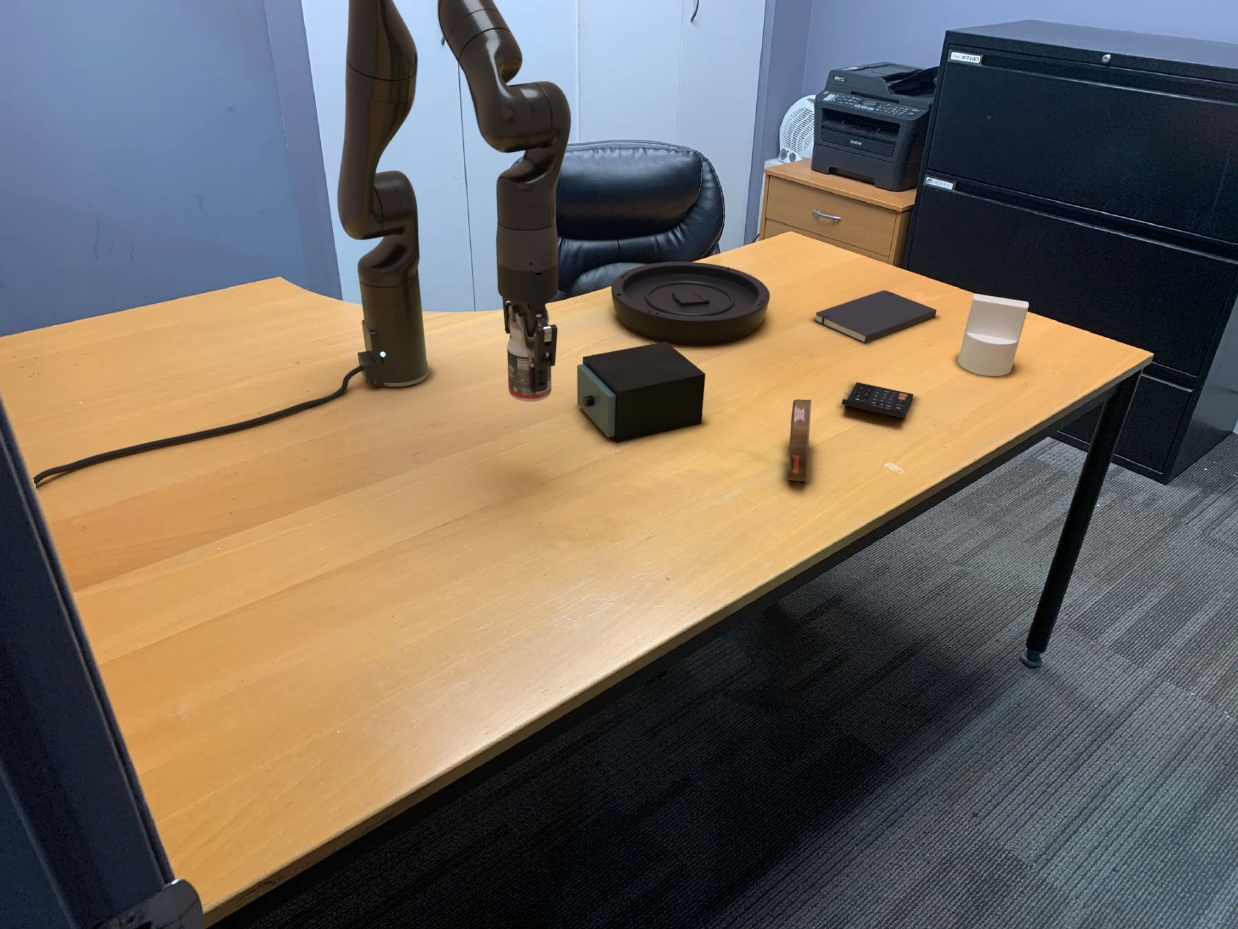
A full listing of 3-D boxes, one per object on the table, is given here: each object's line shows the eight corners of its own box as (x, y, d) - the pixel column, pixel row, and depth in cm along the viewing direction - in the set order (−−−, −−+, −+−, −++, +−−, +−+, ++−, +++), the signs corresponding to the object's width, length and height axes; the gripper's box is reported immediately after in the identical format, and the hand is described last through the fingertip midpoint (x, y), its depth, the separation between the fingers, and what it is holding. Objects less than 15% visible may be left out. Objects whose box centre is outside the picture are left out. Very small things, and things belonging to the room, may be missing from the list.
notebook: (864, 343, 171) (935, 317, 182) (866, 335, 170) (936, 309, 181) (812, 320, 179) (883, 296, 190) (813, 312, 178) (884, 289, 189)
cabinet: (616, 443, 138) (618, 391, 134) (582, 405, 148) (582, 356, 143) (701, 423, 144) (705, 373, 139) (663, 388, 154) (665, 341, 149)
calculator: (912, 398, 153) (916, 382, 151) (899, 430, 144) (902, 413, 142) (855, 386, 156) (858, 370, 154) (839, 416, 147) (842, 399, 145)
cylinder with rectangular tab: (955, 370, 162) (971, 305, 156) (960, 350, 169) (975, 287, 163) (1010, 380, 159) (1028, 314, 153) (1012, 359, 166) (1029, 295, 160)
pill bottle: (509, 383, 126) (506, 315, 121) (551, 382, 126) (550, 315, 121) (508, 403, 121) (505, 333, 116) (551, 403, 122) (551, 333, 116)
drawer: (600, 439, 138) (601, 398, 134) (570, 405, 146) (569, 366, 142) (687, 419, 143) (689, 380, 139) (652, 388, 152) (654, 350, 148)
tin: (805, 493, 128) (813, 441, 124) (782, 490, 129) (789, 438, 124) (808, 439, 141) (816, 389, 136) (787, 436, 141) (794, 387, 137)
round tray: (729, 281, 195) (592, 294, 187) (732, 254, 192) (592, 266, 184) (793, 339, 171) (639, 357, 163) (797, 309, 168) (640, 325, 160)
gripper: (479, 241, 118) (485, 361, 127) (518, 282, 107) (521, 409, 116) (535, 234, 120) (537, 352, 130) (578, 273, 110) (577, 399, 119)
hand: (529, 379), depth 123 cm, fingers closed on pill bottle, 5 cm apart
